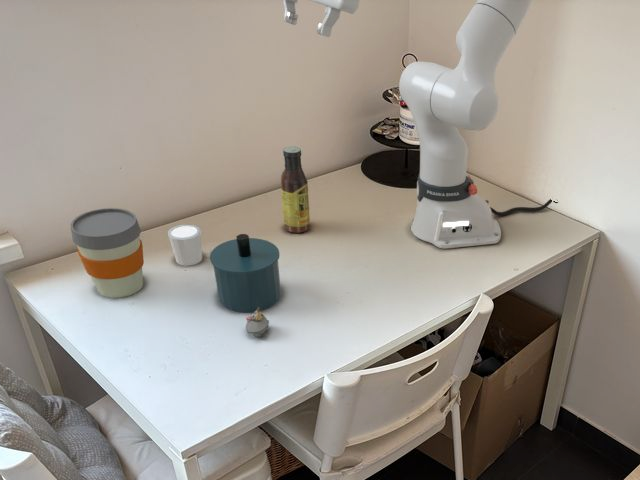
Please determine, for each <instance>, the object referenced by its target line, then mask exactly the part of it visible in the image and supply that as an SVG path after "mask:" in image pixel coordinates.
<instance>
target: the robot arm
mask: <svg viewBox="0 0 640 480" xmlns="http://www.w3.org/2000/svg"><path fill="white" fill-rule="evenodd" d="M309 1H311V2H314V3H317V4H319V5H323V6H325V9H324V13H325V14H326V15H325V16H324V18H323V20H322V22H318V24H317V30H316V32H317V34H318V35H321V36H322V37H326V38H330V37H331V34H332V29H333V27H334V25H336V23H337V21H338V20H339V19H340V15H341V12H344V13H348V14H351V15H353V14H355V13H356V12H357V11H358V9H359V6H360V0H309ZM532 1H533V0H476V2H475V3H474V5H473V6H472V8H471V10H470V11H469V13H468V15H467V16H466V18H465V19H464V21H463V23H462V24H461V25H460V27H459V29H458V30H457V32H456V34H455V35H456V36H455V44H456V48H457V51H458V53H459V55H460V58H459V61H458V63H457V65H456V67H454V68H450V67H447V66H445V65H441V64H438V63H436V62H430V61H414V62H411V63H409V64H408V65H407V66H406V67H405V68H404V70H403V71H402V73H401V76H400V78H399V82H398V83H399V84H398V89H399V95H400V98H401V99H402V101H403V102H404V103H405V105H406V106H407V108H408V110H409V112H410V114H411V116H412V119H413V122H414V125H415V128H416V132H417V136H418V141H419V173H418V175H417V181H416V198H417V202H416V209H415V213H414V218H413V221H412V223H411V226H410V231H411V233H412V234H413V235H414V236H415V237H416V238H417V239H420V240H421V241H424V242H426V243H430V244H432V245H434V246H435V247H437V248H438V249H442V250H443V249H444V250H445V249H454V248H455V249H456V248H466V247H473V246H474V247H476V246H486V245H494V244H495V245H496V244H498V243H499V242H500V240H501V239H502V229H501V225H500V224H499V222H498V221H497V219H495V218H494V215H495V216H499V217H504V216H508V215H510V214H511V213H514V212H539V211H542V210H544V209H546V208H547V207H548V206H550V205H551V204H552V203H554V204H559V201H558V202H555V201H553V202H552V200H551V198H550V199H549V200H547V201H546V202H545V203H544V204H543V205H541V206H536V207H530V206H529V207H528V206H526V207H525V206H516V207H512V208H509V209H506V210H505V211H497V210H495V208H493V207H491V206H490V204H489V200H488V199H487V200H486V199H484V198H482V197H481V196H480V195H479V194H478V191H479V190H478V187H477V185H476V184H475V182H474V180H473V179H472V177H471V176H470V174H468V175H467V170H468V169H467V167H468V156H469V148H468V145H467V144H468V143H467V142H466V141H465V138H464V137H463V136H462V135H461V133H460V131H459V129H461V130H468V131H478V132H480V131H483V130H486V129H487V128H488V127H490V125H491V124H492V123H493V122H494V120H495V119H496V117H497V115H498V112H499V105H500V102H499V95H498V92H497V90H496V86H495V79H496V73H497V69H498V66H499V64H500V62H501V60H502V58H503V56H504V54H506V51H507V50H508V48H509V46H510V44H511V43H512V41H513V39H514V38H515V37H516V35H517V33H518V31H519V30H520V28H521V26H522V24H523V22H524V20H525V18H526V16H527V14H528V11H529V9H530V6H531V3H532ZM282 2H283V9H284V16H283V21H284V22H285V23H286V24H290V25H292V26H293V25H294V26H296V25H297V23H298V18H299V14H297V13H296V4H297V3H298V0H282ZM458 128H459V129H458Z"/></svg>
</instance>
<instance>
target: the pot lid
mask: <svg viewBox="0 0 640 480" xmlns="http://www.w3.org/2000/svg"><path fill="white" fill-rule="evenodd" d="M279 259H280V249H279V247H277V246H276V245H275V244H274V243H273V242H271V241H269V240H266V239H262V238H256V237H250V236H249V234H247V233H240V234H238V235H236V238H235V239H231V240H227V241H225V242H222V243H219V244H218V245H216V246H215V247H214V248H213V249H211V251H210V254H209V261H210V263H211V265H212V267H213V268H214V267H215V268H217V269H219V270H221V271H223V272H227V273H232V274H249V273H255V272H259V271H263V270H265V269H267V268H269V267H271V266H273V265H274V264H275V263H276V262H277V261H278V262H279Z"/></svg>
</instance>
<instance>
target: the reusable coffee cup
mask: <svg viewBox="0 0 640 480" xmlns="http://www.w3.org/2000/svg"><path fill="white" fill-rule="evenodd" d="M70 232H71V238H72V242H73V243H74V244H75V245H76V246H77V254H78V257H79V258H80V261H81V262H82V265H83V267H84V269H85V271H86V273H87V274H88V275H89V276H90V277H91V279H92V281H93V283H94V286H95V288H96V290H97V292H98V294H99V295H101V296H103V297H105V298H112V299H114V298H115V299H116V298H117V299H119V298H125V297H129V296H132V295H134V294H136V293H137V292H139V291H140V290H141V289H142V288H143V286H144V276H143V266H144V263H145V261H144V247H143V241H142V240H141V238H140V237H141V236H140V235H141V232H142V231H141V227H140V224H139V221H138V218H137V216H136V214H135V213H134V212H132V211H130V210H128V209H124V208H119V207H118V208H117V207H104V208H97V209H93V210H89V211H86V212H84V213H81V214H79V215H78V216H76V217H75V218H73V220H72V221H71V223H70Z"/></svg>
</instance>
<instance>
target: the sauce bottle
mask: <svg viewBox="0 0 640 480" xmlns="http://www.w3.org/2000/svg"><path fill="white" fill-rule="evenodd" d="M282 153H283V157H284V158H283V159H284V170H283V171H282V173H281V176H280V183H281V187H280V190H281V191H280V193H281V204H282V205H281V206H282V217H283V219H282V220H283V224H284V229H285V230H286V231H288V232H290V233H294V234H299V233H303V232H307V231H308V230H309V229H310V222H311V218H310V201H309V197H310V196H309V182H308V179H307V177H306V175H305V172H304V169H303V166H302V158H301V157H302V149H301V148H300V147H298V146H286V147H284V148H283V149H282Z"/></svg>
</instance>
